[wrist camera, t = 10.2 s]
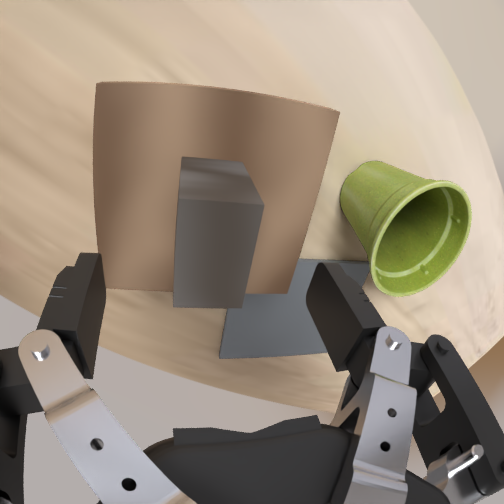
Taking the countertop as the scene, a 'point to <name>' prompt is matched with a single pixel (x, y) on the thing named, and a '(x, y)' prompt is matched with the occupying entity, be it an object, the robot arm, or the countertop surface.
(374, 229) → the plant pot
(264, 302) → the mat
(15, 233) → the countertop surface
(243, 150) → the lid
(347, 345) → the robot arm
